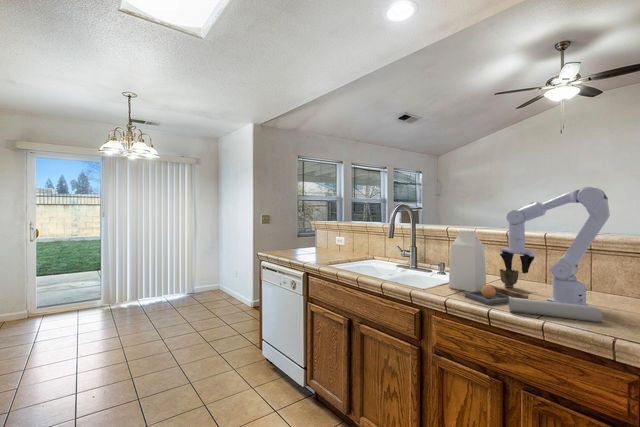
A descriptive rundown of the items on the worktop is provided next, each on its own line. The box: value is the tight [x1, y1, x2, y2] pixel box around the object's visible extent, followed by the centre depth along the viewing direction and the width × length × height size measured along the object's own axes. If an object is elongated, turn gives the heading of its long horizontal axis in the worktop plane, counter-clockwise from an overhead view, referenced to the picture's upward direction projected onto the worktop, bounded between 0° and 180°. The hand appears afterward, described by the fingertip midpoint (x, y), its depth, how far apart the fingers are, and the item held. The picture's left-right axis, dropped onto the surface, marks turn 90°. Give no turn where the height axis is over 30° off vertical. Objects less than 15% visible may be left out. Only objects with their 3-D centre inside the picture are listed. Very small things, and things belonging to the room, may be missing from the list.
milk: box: [448, 229, 487, 292], centre depth 141 cm, size 12×12×26 cm
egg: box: [480, 284, 496, 298], centre depth 122 cm, size 5×5×5 cm
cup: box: [499, 268, 520, 289], centre depth 141 cm, size 8×7×8 cm
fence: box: [489, 284, 529, 299], centre depth 125 cm, size 18×1×3 cm, turn 17°
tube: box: [508, 296, 603, 323], centre depth 103 cm, size 5×5×25 cm
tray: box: [464, 290, 514, 306], centre depth 122 cm, size 12×12×2 cm
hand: (516, 271), depth 130 cm, fingers open, 7 cm apart
